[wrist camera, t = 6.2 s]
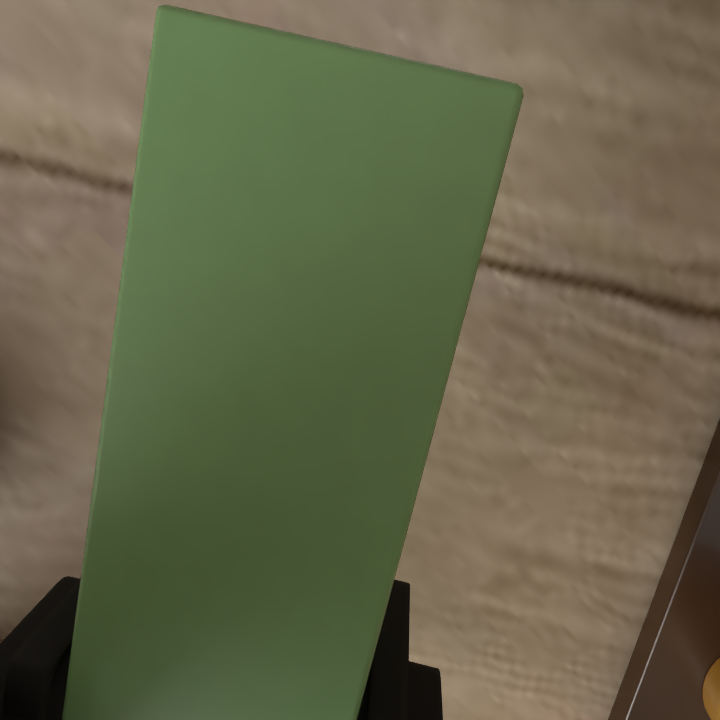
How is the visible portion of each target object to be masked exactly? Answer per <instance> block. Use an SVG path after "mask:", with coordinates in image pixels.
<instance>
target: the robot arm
mask: <svg viewBox="0 0 720 720" xmlns="http://www.w3.org/2000/svg"><path fill="white" fill-rule="evenodd" d="M80 580H81V578H80V579H78V578H74V577H70V576H67V577H64V578H62V579H61V580H60V581H59V582H58V583H57V584H56V585H55V586H54V587H53V588H52V589H51V590H50V591H49V592H48V593H47V595H46V596H45V597H44V598H43V599H42V600H41V601H40V602H39V603H38V604H37V605H36V606H35V607H34V608H33V609H32V611H31V612H30V613H29V614H28V615H27V616H26V617H25V618H24V619H23V620H22V621H21V622H20V623H19V624H18V625H17V627H16V628H15V629H14V630H13V631H12V632H11V633H10V634H9V635H8V636H7V637H6V638H5V639H4V640H3V642H2V643H1V644H0V720H62V715H63V707H64V700H65V692H66V685H67V677H68V670H69V662H70V655H71V647H72V640H73V632H74V625H75V618H76V610H77V603H78V595H79V588H80ZM409 606H410V584H409V583H406V582H402V581H398V580H394V582H393V586H392V590H391V593H390V597H389V601H388V605H387V608H386V612H385V616H384V620H383V623H382V627H381V631H380V635H379V638H378V642H377V646H376V650H375V653H374V657H373V661H372V664H371V668H370V672H369V676H368V679H367V683H366V687H365V691H364V694H363V698H362V702H361V706H360V709H359V713H358V717H357V720H443V714H442V694H441V677H440V671H439V669H438V668H434V667H430V666H426V665H422V664H418V663H414V662H410V661H409Z"/></svg>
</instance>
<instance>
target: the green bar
mask: <svg viewBox="0 0 720 720" xmlns="http://www.w3.org/2000/svg"><path fill="white" fill-rule="evenodd" d="M522 99H523V88H522V87H520V86H519V85H518V84H516V83H512V82H507V81H503V80H498V79H494V78H489V77H485V76H480V75H476V74H472V73H467V72H463V71H458V70H454V69H449V68H445V67H441V66H436V65H432V64H427V63H423V62H418V61H414V60H410V59H405V58H401V57H396V56H392V55H387V54H383V53H378V52H374V51H370V50H365V49H361V48H356V47H352V46H347V45H343V44H339V43H334V42H330V41H325V40H321V39H316V38H312V37H307V36H303V35H299V34H294V33H290V32H285V31H281V30H276V29H272V28H268V27H263V26H259V25H254V24H250V23H245V22H241V21H236V20H232V19H228V18H223V17H219V16H214V15H210V14H205V13H201V12H197V11H192V10H188V9H183V8H179V7H174V6H170V5H163V6H159V7H158V9H157V12H156V19H155V27H154V34H153V42H152V49H151V57H150V64H149V72H148V79H147V86H146V94H145V101H144V109H143V116H142V124H141V131H140V139H139V146H138V154H137V161H136V169H135V176H134V184H133V191H132V199H131V206H130V214H129V221H128V229H127V236H126V244H125V251H124V258H123V266H122V273H121V281H120V288H119V296H118V303H117V311H116V318H115V326H114V333H113V341H112V348H111V356H110V363H109V371H108V378H107V386H106V393H105V401H104V408H103V416H102V423H101V431H100V438H99V445H98V453H97V460H96V468H95V475H94V483H93V490H92V498H91V505H90V513H89V520H88V528H87V535H86V543H85V550H84V558H83V565H82V573H81V580H80V588H79V595H78V603H77V610H76V618H75V625H74V632H73V640H72V647H71V655H70V662H69V670H68V677H67V685H66V692H65V700H64V707H63V715H62V720H357V717H358V713H359V709H360V706H361V702H362V698H363V694H364V691H365V687H366V683H367V679H368V676H369V672H370V668H371V664H372V661H373V657H374V653H375V650H376V646H377V642H378V638H379V635H380V631H381V627H382V623H383V620H384V616H385V612H386V608H387V605H388V601H389V597H390V593H391V590H392V586H393V582H394V578H395V575H396V571H397V567H398V563H399V560H400V556H401V552H402V548H403V545H404V541H405V537H406V533H407V530H408V526H409V522H410V518H411V515H412V511H413V507H414V504H415V500H416V496H417V492H418V489H419V485H420V481H421V477H422V474H423V470H424V466H425V462H426V459H427V455H428V451H429V447H430V444H431V440H432V436H433V432H434V429H435V425H436V421H437V417H438V414H439V410H440V406H441V402H442V399H443V395H444V391H445V387H446V384H447V380H448V376H449V372H450V369H451V365H452V361H453V358H454V354H455V350H456V346H457V343H458V339H459V335H460V331H461V328H462V324H463V320H464V316H465V313H466V309H467V305H468V301H469V298H470V294H471V290H472V286H473V283H474V279H475V275H476V271H477V268H478V264H479V260H480V256H481V253H482V249H483V245H484V241H485V238H486V234H487V230H488V226H489V223H490V219H491V215H492V212H493V208H494V204H495V200H496V197H497V193H498V189H499V185H500V182H501V178H502V174H503V170H504V167H505V163H506V159H507V155H508V152H509V148H510V144H511V140H512V137H513V133H514V129H515V125H516V122H517V118H518V114H519V110H520V107H521V103H522Z"/></svg>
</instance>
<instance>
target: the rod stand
mask: <svg viewBox="0 0 720 720" xmlns="http://www.w3.org/2000/svg"><path fill="white" fill-rule="evenodd" d="M608 720H720V420H719V423H718V425H717V428H716V431H715V433H714V436H713V439H712V442H711V444H710V447H709V450H708V452H707V455H706V458H705V460H704V463H703V466H702V468H701V471H700V474H699V477H698V479H697V482H696V485H695V487H694V490H693V493H692V495H691V498H690V501H689V503H688V506H687V509H686V512H685V514H684V517H683V520H682V522H681V525H680V528H679V530H678V533H677V536H676V539H675V541H674V544H673V547H672V549H671V552H670V555H669V557H668V560H667V563H666V565H665V568H664V571H663V574H662V576H661V579H660V582H659V584H658V587H657V590H656V592H655V595H654V598H653V601H652V603H651V606H650V609H649V611H648V614H647V617H646V619H645V622H644V625H643V627H642V630H641V633H640V636H639V638H638V641H637V644H636V646H635V649H634V652H633V654H632V657H631V660H630V663H629V665H628V668H627V671H626V673H625V676H624V679H623V681H622V684H621V687H620V689H619V692H618V695H617V698H616V700H615V703H614V706H613V708H612V711H611V714H610V716H609V719H608Z"/></svg>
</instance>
